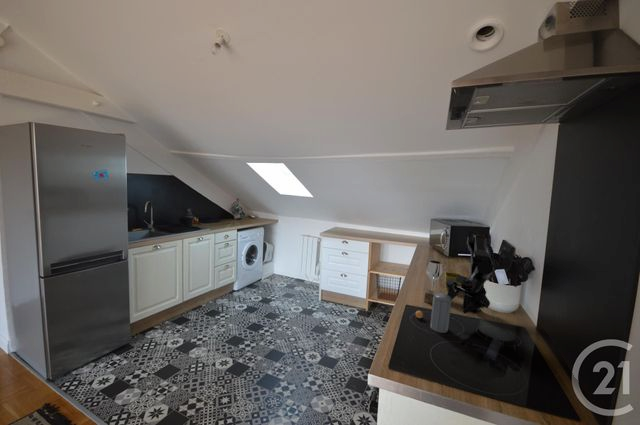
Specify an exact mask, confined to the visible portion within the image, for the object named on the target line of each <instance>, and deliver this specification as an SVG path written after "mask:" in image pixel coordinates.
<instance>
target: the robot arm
mask: <svg viewBox="0 0 640 425" xmlns="http://www.w3.org/2000/svg"><path fill="white" fill-rule="evenodd" d="M487 240H488V239H487V237H486V236H485V235H481V234H472V235H470V236H467V239H466V245H467V250H468V251H469V253H470V274H469V276H464V275H462V274H461V275H459V274H460V273H457V274H458V275H457V277H456V279H455V281H456V282H459V283H460V286H461V287H459V285H458V284H457V283H456V282H454V281H452V280H447V282H446V285H447V287H448V290H447V294H446V295H448V296H450V297H451V301H452V300H454V299H455V298H456V297H458V293H461V294H463V300H462V301H463V302H462V307H461V308H462V309H463V311H462V313H463V314H467V313H469V312H471V313H473V314H477V313H479V312H481V311H482V309H484V308H485V309H488V308H489V307H490V306H491V302H490V300H489V298H488V296H487V295H486V294H487V290H486V288H485V286H484V285H485V283H487V282H486V281H487V280H488V279H489V278H490V276H491V274H492V272H493V270H494V267H495V266H494V265H495V264H494V262H493V260H492V258H491V255H490V253H488V252H487V251H486V247H487ZM446 285H445V286H446Z"/></svg>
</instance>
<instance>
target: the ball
mask: <svg viewBox="0 0 640 425" xmlns="http://www.w3.org/2000/svg"><path fill="white" fill-rule="evenodd" d="M414 315H415V316H416V318H418V319H422V318H423V317H424V313H423V312H422V311H421V310H417V311H416V312H415V314H414Z"/></svg>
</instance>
